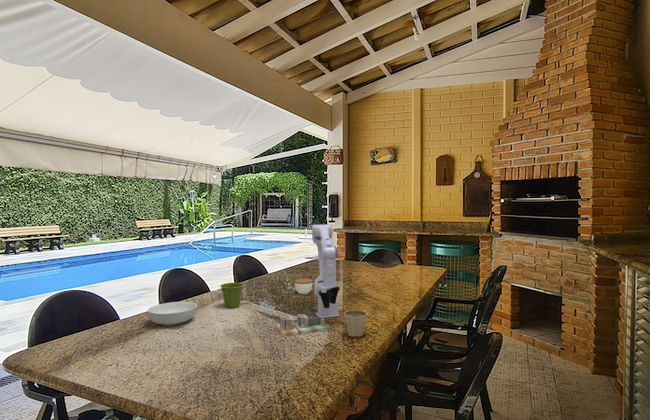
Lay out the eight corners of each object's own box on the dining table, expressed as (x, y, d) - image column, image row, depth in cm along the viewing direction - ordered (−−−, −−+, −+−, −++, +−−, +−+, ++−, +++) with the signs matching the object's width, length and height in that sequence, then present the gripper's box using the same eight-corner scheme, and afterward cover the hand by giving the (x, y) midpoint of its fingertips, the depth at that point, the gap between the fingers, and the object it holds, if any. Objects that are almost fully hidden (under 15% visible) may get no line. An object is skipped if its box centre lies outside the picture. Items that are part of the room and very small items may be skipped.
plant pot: (215, 308, 192) (215, 286, 192) (229, 302, 203) (229, 281, 203) (235, 310, 188) (234, 288, 187) (248, 304, 199) (248, 283, 198)
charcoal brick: (318, 321, 164) (318, 315, 164) (320, 323, 161) (320, 317, 161) (298, 324, 160) (298, 318, 160) (300, 326, 158) (300, 320, 158)
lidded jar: (292, 292, 226) (291, 276, 226) (308, 290, 231) (308, 275, 231) (298, 296, 216) (298, 279, 216) (315, 294, 221) (315, 278, 221)
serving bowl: (207, 318, 176) (207, 303, 176) (172, 332, 157) (171, 315, 157) (174, 313, 184) (174, 299, 184) (137, 326, 165) (136, 310, 165)
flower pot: (369, 332, 155) (369, 311, 155) (364, 339, 146) (364, 317, 146) (347, 329, 158) (347, 309, 158) (341, 337, 149) (340, 315, 149)
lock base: (321, 321, 169) (321, 309, 169) (331, 329, 158) (331, 317, 158) (276, 327, 162) (276, 314, 162) (283, 336, 150) (283, 323, 150)
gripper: (327, 271, 172) (327, 300, 172) (314, 276, 159) (314, 309, 159) (341, 272, 169) (342, 302, 169) (329, 277, 156) (330, 310, 156)
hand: (329, 305), depth 164 cm, fingers open, 7 cm apart
